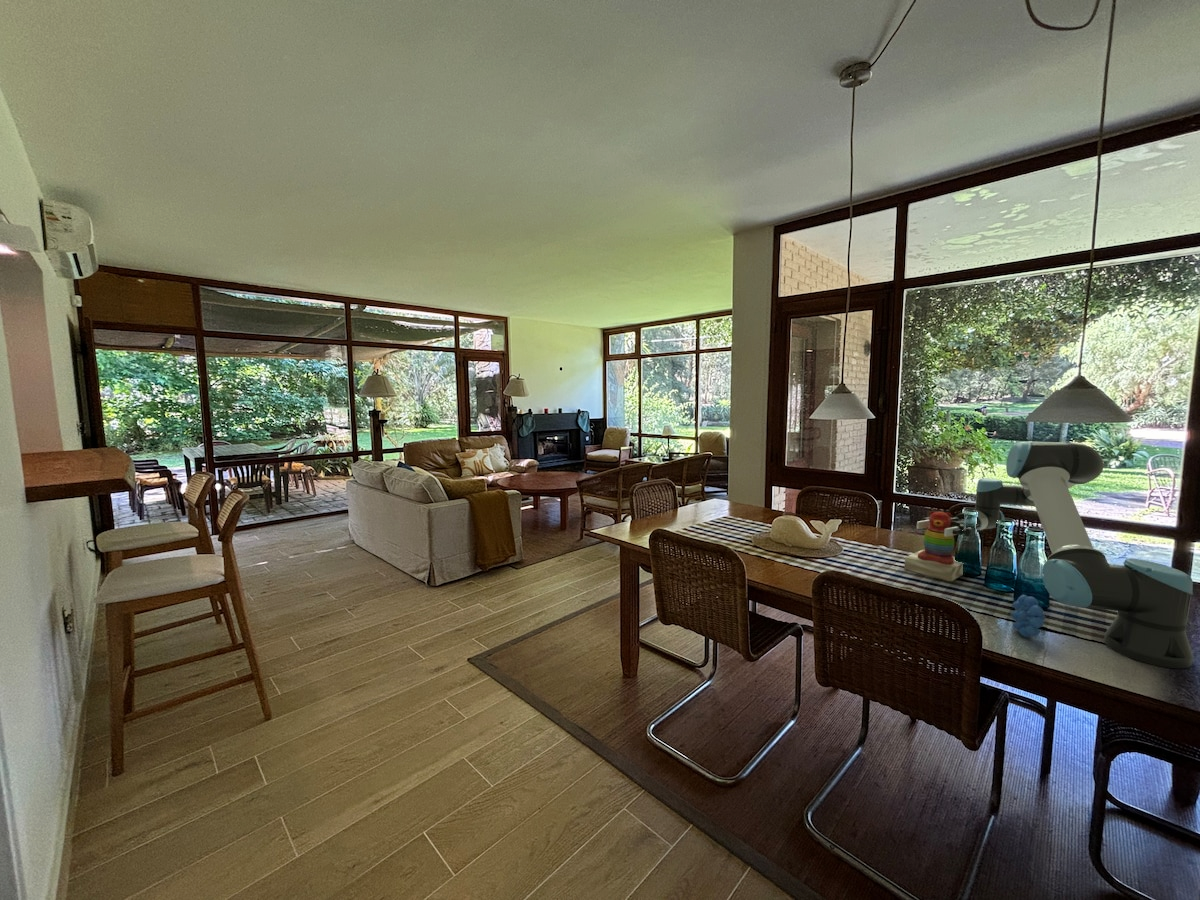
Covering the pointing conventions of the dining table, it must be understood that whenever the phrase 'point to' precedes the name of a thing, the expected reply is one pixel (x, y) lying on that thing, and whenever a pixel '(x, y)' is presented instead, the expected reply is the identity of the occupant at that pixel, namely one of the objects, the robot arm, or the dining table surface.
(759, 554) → the dining table surface
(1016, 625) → the grapes
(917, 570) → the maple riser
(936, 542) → the stacking bear
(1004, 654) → the dining table surface
